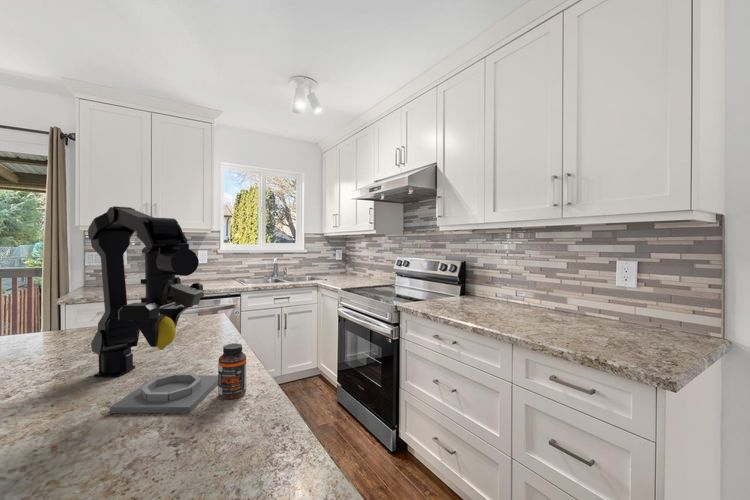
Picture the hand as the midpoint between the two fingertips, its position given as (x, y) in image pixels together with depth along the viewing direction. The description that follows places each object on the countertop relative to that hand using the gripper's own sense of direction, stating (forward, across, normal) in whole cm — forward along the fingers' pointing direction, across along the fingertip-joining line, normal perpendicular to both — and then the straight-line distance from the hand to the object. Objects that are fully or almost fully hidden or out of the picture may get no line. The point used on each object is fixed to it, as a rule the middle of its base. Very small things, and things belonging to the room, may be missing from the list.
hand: (161, 342), depth 76 cm
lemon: (+2, 0, 0) cm, 2 cm away
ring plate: (+12, 0, -2) cm, 12 cm away
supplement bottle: (+12, +1, -15) cm, 20 cm away
